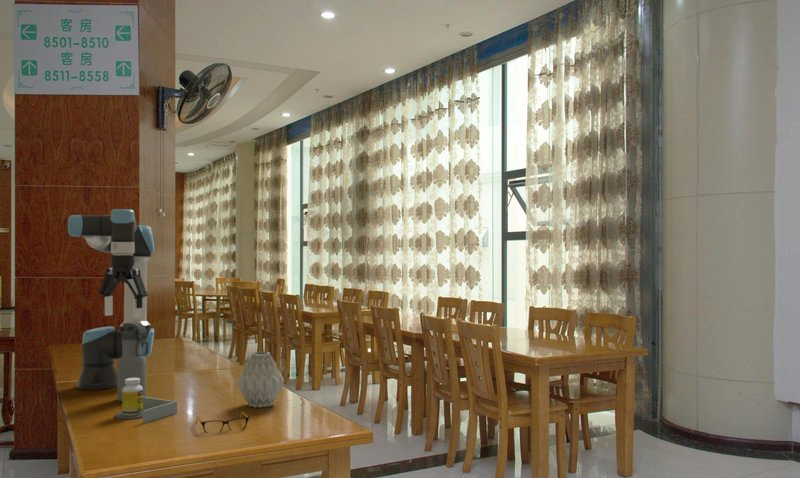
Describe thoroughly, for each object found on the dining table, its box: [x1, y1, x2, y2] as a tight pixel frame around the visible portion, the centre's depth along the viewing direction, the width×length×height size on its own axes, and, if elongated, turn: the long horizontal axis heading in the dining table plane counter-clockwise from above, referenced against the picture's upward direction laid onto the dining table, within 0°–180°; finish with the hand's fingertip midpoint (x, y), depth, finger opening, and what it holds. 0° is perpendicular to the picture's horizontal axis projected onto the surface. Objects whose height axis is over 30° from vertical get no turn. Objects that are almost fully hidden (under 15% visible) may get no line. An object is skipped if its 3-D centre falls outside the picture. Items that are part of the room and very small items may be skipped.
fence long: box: [143, 396, 174, 410], centre depth 233 cm, size 19×1×4 cm, turn 64°
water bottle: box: [117, 322, 148, 403], centre depth 249 cm, size 10×10×28 cm
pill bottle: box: [121, 378, 144, 416], centre depth 226 cm, size 6×6×12 cm
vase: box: [237, 351, 285, 409], centre depth 240 cm, size 16×16×18 cm
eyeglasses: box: [195, 411, 249, 433], centre depth 214 cm, size 14×14×4 cm
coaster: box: [114, 411, 143, 420], centre depth 226 cm, size 11×11×1 cm
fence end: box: [142, 400, 178, 424], centre depth 223 cm, size 1×14×4 cm, turn 153°
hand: (122, 316), depth 231 cm, fingers open, 13 cm apart
